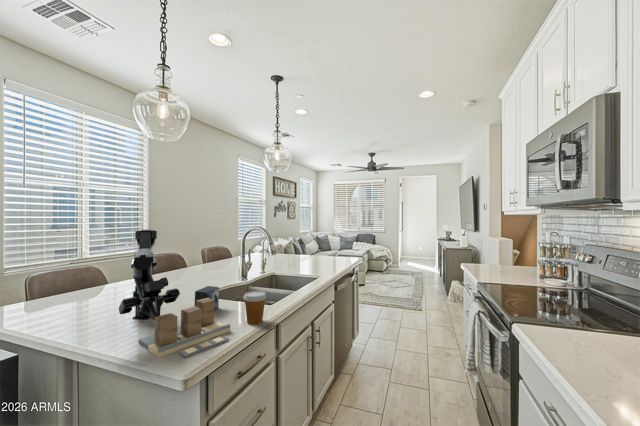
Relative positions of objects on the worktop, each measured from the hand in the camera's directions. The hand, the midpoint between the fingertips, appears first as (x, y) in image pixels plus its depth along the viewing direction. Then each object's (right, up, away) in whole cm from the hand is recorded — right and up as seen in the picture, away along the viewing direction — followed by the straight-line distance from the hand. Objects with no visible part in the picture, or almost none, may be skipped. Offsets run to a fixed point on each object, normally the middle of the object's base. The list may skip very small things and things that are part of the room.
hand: (158, 320), depth 98 cm
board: (+8, -8, +5) cm, 12 cm away
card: (+17, -8, -2) cm, 19 cm away
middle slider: (+10, -6, +3) cm, 12 cm away
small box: (+4, -8, +33) cm, 35 cm away
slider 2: (+11, -6, +14) cm, 19 cm away
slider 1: (+5, -6, -4) cm, 9 cm away
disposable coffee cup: (+29, -8, +20) cm, 37 cm away
